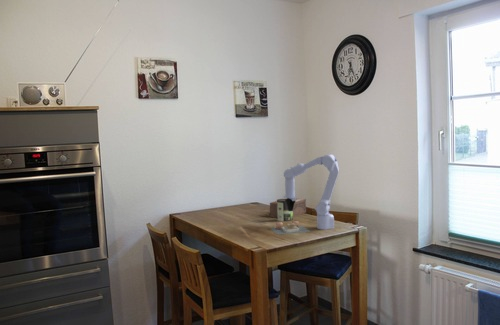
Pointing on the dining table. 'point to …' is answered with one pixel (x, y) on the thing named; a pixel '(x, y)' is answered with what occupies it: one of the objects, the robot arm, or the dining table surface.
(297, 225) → the pink rounded cylinder
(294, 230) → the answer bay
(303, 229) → the slate board
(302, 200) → the tissue box cover
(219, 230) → the dining table surface
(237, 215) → the dining table surface
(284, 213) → the coffee can
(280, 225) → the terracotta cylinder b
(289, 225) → the maple cube
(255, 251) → the dining table surface
